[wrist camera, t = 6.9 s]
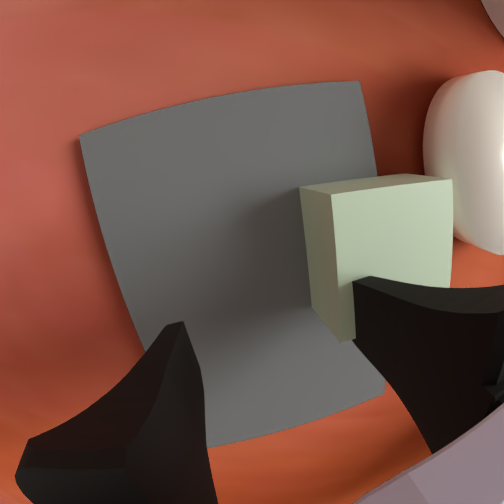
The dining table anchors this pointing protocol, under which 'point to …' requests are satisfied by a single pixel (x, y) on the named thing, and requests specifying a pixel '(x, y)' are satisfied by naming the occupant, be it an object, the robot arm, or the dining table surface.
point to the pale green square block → (374, 238)
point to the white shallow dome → (470, 154)
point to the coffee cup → (495, 13)
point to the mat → (235, 244)
